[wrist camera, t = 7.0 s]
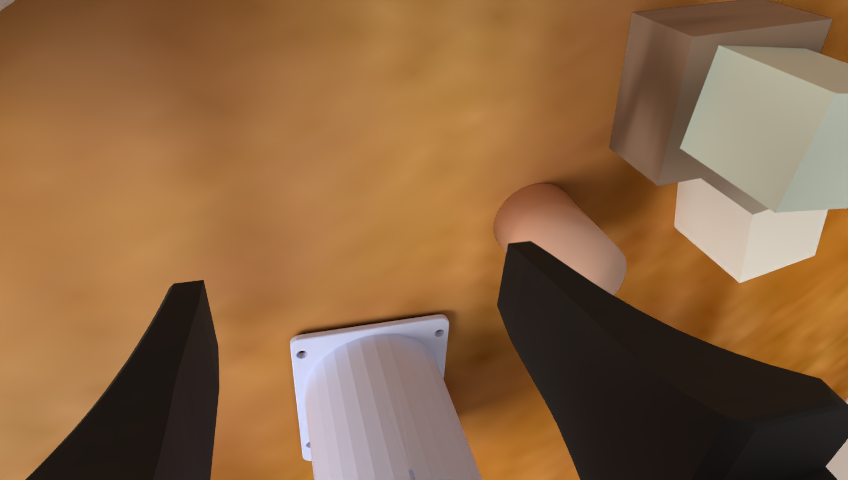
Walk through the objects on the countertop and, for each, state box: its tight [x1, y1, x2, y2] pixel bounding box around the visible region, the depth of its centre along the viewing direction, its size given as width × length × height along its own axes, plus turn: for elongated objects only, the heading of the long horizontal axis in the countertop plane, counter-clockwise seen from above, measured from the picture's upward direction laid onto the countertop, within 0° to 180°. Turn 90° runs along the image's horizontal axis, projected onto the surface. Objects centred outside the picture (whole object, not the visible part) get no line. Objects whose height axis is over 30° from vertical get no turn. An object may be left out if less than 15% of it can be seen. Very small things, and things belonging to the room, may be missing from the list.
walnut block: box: [609, 0, 833, 186], centre depth 24 cm, size 6×6×4 cm
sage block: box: [680, 45, 848, 213], centre depth 20 cm, size 4×4×5 cm
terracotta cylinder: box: [494, 183, 627, 295], centre depth 25 cm, size 4×4×5 cm
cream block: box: [674, 175, 828, 283], centre depth 27 cm, size 4×4×5 cm
